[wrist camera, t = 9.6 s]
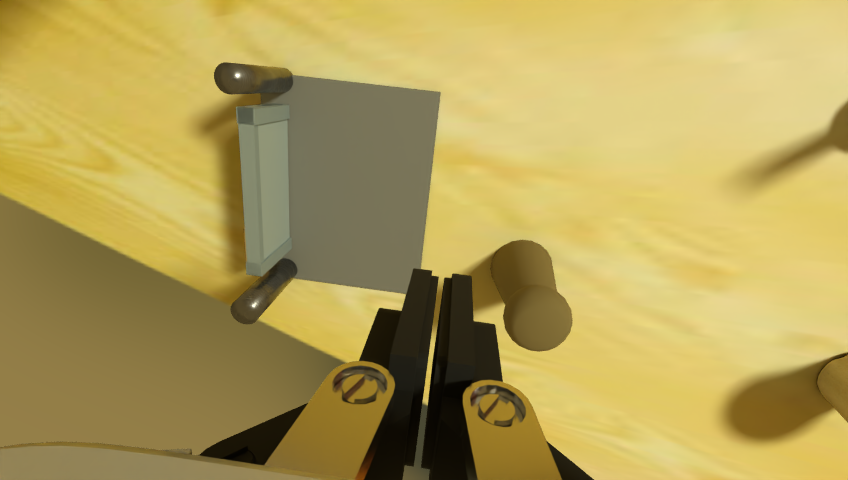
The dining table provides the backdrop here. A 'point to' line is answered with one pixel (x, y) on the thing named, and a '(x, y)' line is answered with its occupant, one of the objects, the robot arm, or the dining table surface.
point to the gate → (264, 184)
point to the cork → (530, 296)
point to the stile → (263, 291)
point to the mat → (358, 180)
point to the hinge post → (252, 79)
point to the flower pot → (835, 384)
